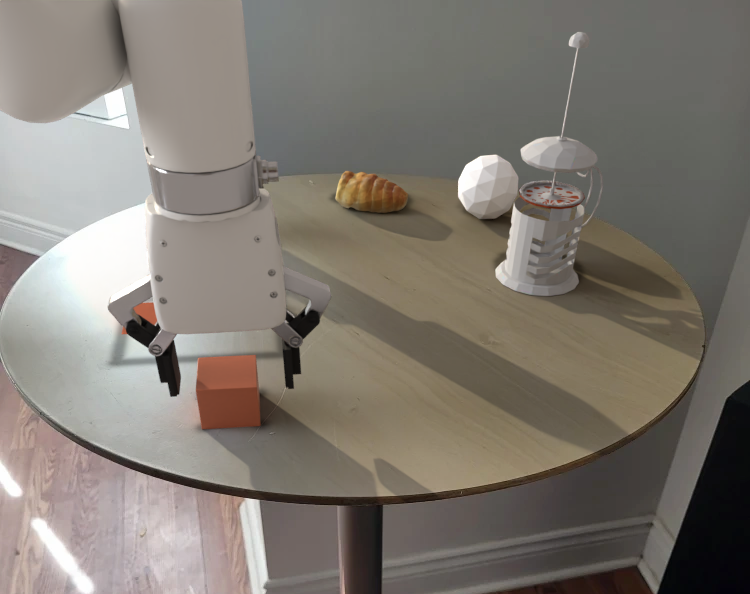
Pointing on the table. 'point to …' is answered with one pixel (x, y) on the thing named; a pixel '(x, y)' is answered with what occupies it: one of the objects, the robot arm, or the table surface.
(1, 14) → the robot arm
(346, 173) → the pastry
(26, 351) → the table surface
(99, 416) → the table surface
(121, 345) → the table surface
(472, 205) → the geometric ball
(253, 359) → the terracotta block
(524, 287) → the french press
